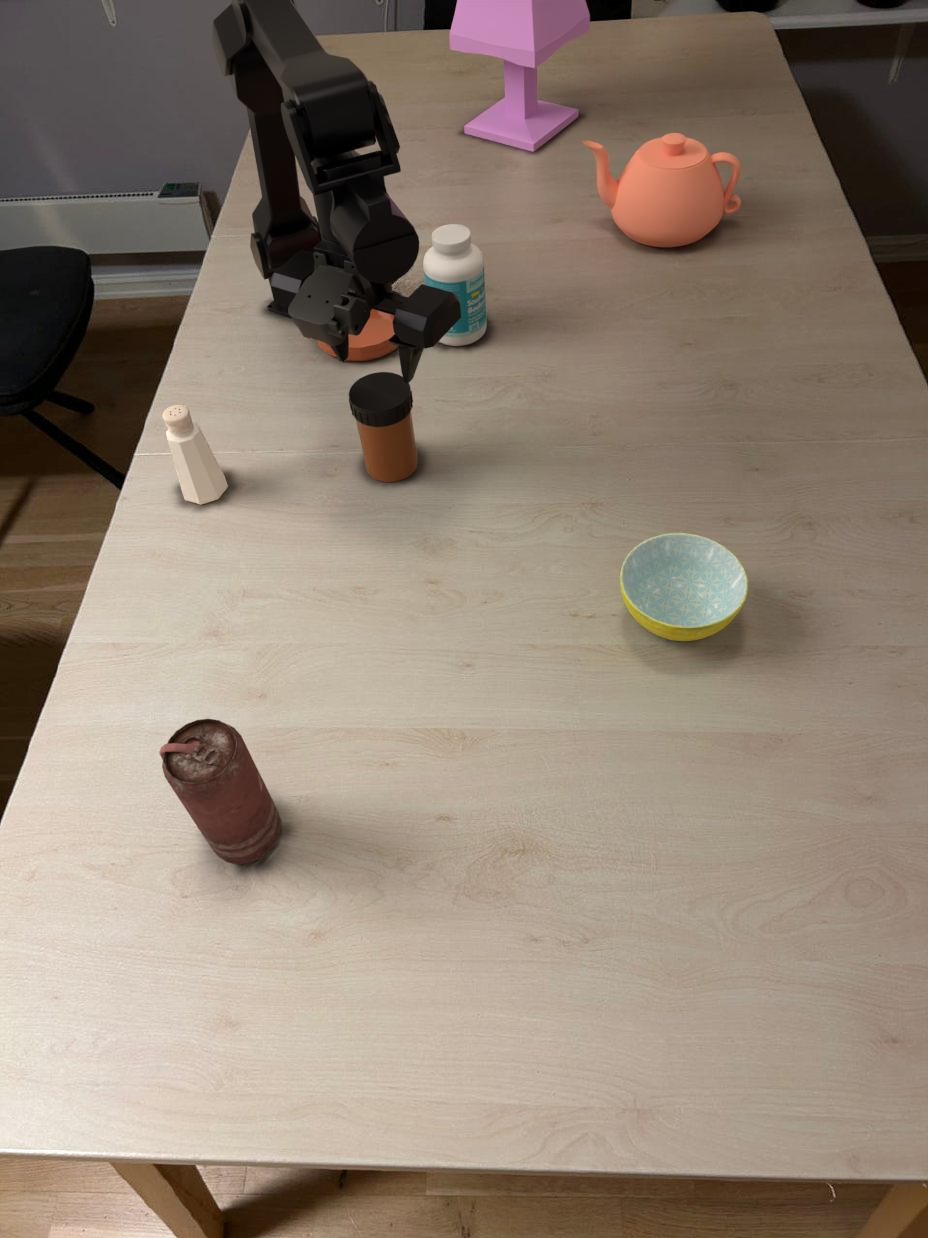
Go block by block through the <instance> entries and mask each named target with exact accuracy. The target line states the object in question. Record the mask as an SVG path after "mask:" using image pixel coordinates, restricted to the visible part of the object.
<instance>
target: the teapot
mask: <svg viewBox="0 0 928 1238" xmlns="http://www.w3.org/2000/svg"><path fill="white" fill-rule="evenodd" d="M582 143H583V144H584V145H585V146H586V147H588V149H589V150H591V152H592V153H593V155H594V157H595V162H596V187H597V192H598V195H599V197H600V199H601V200H602V202H603V203H604V204H605V205H606V206H608V207H609V208H610V213H611V217H612V219H613V221H614V223H615V224H616V226H617V227H618V228H619V229H620V230H621V232H622V233H623V234H624V235H625V236H626V237H628V238H629V239H630V240H631V241H634V242H636V243H639V244H640V245H641V244H642V245H646V246H649V247H655V248H675V247H677V248H678V247H682V246H687V245H690V244H693V243H696V242H698V241H700V240H701V239H703V238H704V237H705V236H707V235H708V234H709V233H710V232H712V231H713V230H714V229H715V228H716V226H717V225H719V223H720V221H721V220H722V217H723V214H725V215H732V214H735V213H737V212H738V211H739V209H740V208H741V204H742V200H741V197H740V196H739V195H738V194H736V193H735V194H733V192H734V190H735V188H736V187H737V184H738V182H739V179H740V175H741V163H740V160H739V159H738V158H737V156H735V155H734V154H733V153H730V152H727V151H720V152H716V153H713V154H712V155H711V153H710V152H709V150H708V148H707V147H706V146H705V144H703V143H702V142H700V141H698V140H696V139H694V138H691V137H687V136H686V135H685V134H683V133H679V132H670V133H666V134H664V135H663V136H662V137H655V138H654V139H651V140H648V141H646V142H644V143H643V144H642V145H641V146H640V147H639V148H638V149H637V150H636V151H635V152H634V154H633V156H632V157H631V158H630V159H629V161H628V163H627V164H626V165H625V166H624V168H623V170H622V171H621V173H620V175H619V177H618V180H617V179H615V178H614V177H613V176H612V175H611V173H610V158H609V153H608V151H607V149H606V148H605V146H604V145H602V144H600V143H598V142H596V141H591V140H583V141H582ZM717 163H727V164H729V165H731V167H732V173H731V177H730V179H729V182H728V184H727V186H726V188H725V190H724V185H723V181H722V177H721V175H720V172H719V169H718V167H717V165H716V164H717ZM729 202H734V203H733V204H729Z"/></svg>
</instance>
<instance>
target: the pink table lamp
mask: <svg viewBox="0 0 928 1238" xmlns="http://www.w3.org/2000/svg"><path fill="white" fill-rule="evenodd" d="M454 10H455V11H454V15H453V18H452V19H453V20H452V22H451V27H450V31H449V35H448V36H449V49H450V50H452V51H456V52H461V53H464V54H475V55H484V56H485V55H486V56H490V57H494V58H499V59H502V60H503V77H504V78H503V80H504V83H503V84H504V97H503V98H501V99H500V100H499V101H497V102H495V103H494V104H492V105H491V106H490V107H488V108H487V109H486V110H484V111H483V112H481V113H480V114H479V115H478V116H476V117H474V118H473V119H472V120H471V121H469V122H468V123H467V124H465V125H464V126H463V128H464V129H463V131H464V133H463V134H466V135H470V136H473V137H477V138H481V139H484V140H487V141H491V142H496V143H498V144H503V145H507V146H511V147H514V148H517V149H521V150H525V151H530V152H532V153H533V152H535V151H537V150H538V149H539V148H541V147H542V146H543V145H544V144H546V143H547V142H548V141H549V140H551V139H552V138H553V137H555V136H556V135H557V134H559V133H560V132H561V131H562V130H563V129H565V128H566V127H568V126H569V125H570V124H571V123H572V122H574V121H575V120H577V118H579V108H574V107H570V106H566V105H562V104H557V103H554V102H550V101H545V100H541V99H538V67H539V66H541V65H542V64H543V63H545V62H546V61H547V60H548V59H549V58H551V56H552V55H554V54H555V53H556V52H557V51H558V50H559V49H560V48H562V47H564V46H565V45H566V44H568V43H569V42H572V41H574V40H576V39H578V38H580V37H581V36H583V35H585V34H586V33H587V32H589V31H590V28H591V27H590V26H591V24H590V22H591V14H590V11H589V8H588V5H587V1H586V0H456V5H455V9H454Z"/></svg>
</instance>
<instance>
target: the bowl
mask: <svg viewBox="0 0 928 1238" xmlns="http://www.w3.org/2000/svg"><path fill="white" fill-rule="evenodd" d="M619 582H620V584H619V585H620V591H621V595H622V600H623V602H624V604H625V606H626V608H627V610H628V612H629V613H630V614H631V616H632V617H633V618H634V620H635V621H636V622H637V623H638V624H639V625H640V626H641V627H642V628H644V629H646V630H647V631H648V632H649V633H651V634H653V635H655V636H657V637H660V638H662V639H666V640H670V641H678V642H690V641H697V640H701V639H705V638H709V637H710V636H713V635H714V634H716V633H718V632H720V631H721V630H723V629H724V628H725V627H727V626H728V625H729V624H730V623H731V622H732V621H733V620H734V619H735V618H736V616H737V615H738V614H739V612H740V611H741V609H742V608H743V606H744V604H745V602H746V599H747V596H748V592H749V580H748V576H747V572H746V569H745V568H744V566H743V564H742V562H741V561H740V559H739V558H738V557H737V556H736V555H735V553H733V552H732V551H731V550H729V549H728V548H727V547H726V546H724V545H723V544H721V543H720V542H717V541H715V540H713V539H711V538H708V537H705V536H702V535H700V534H699V535H698V534H695V533H694V534H693V533H687V532H671V533H670V532H669V533H663V534H658V535H656V536H653V537H649V538H647V539H645V540H643V541H641V542H640V543H639V544H637V545H636V546H634V547H633V548H632V549H631V550H630V552H629V553H628V554H627V555H626V556H625V558H624V560H623V562H622V564H621V567H620V573H619Z"/></svg>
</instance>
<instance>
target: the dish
mask: <svg viewBox="0 0 928 1238" xmlns="http://www.w3.org/2000/svg"><path fill="white" fill-rule="evenodd" d="M393 319H394V315H391V314H388V313H384V312H381V311H378V310H374V309H372V310H371V314H370V318H369V320H368V321H367V323H366V325H365V326H364V328H363V330H362V331H361V333H360V334H359V335H357V336H355V335H352V334H348V336H349V353H348V358H347V359H346V360H345V361H350V362H363V361H364V362H365V361H370V360H375V359H379V358H382V357H384V356H386V355H388V354H390V353H392V352H393V351H395V350H396V349H398V346H397V345H395V344H393V343H391V342H389V339H390V338H391V337H392V336H393V335H394V334H395V333H394V329H393V323H392V322H393ZM316 343H317V346H318V347H319V348H320V349H321V350H323V351H324V352H325V353H326V354H327V355H329V356H332V357H335V358H337V356H336V355H335V353H334V352H333V350H332V348H331V347H330V345H328V344H326V343H325V342H322V341H319V340H316Z"/></svg>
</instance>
